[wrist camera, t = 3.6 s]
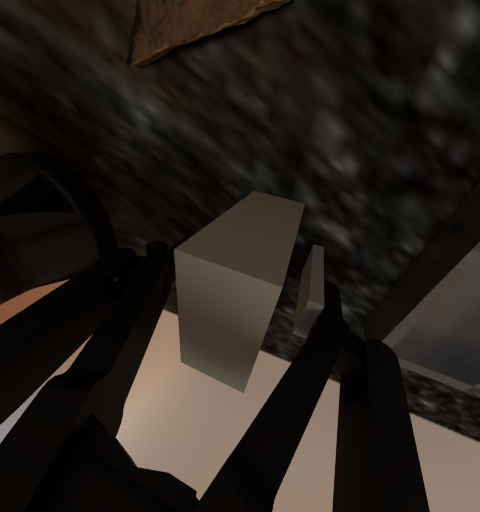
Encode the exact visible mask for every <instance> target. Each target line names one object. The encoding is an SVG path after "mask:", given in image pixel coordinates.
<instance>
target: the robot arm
mask: <svg viewBox="0 0 480 512" xmlns="http://www.w3.org/2000/svg"><path fill="white" fill-rule="evenodd" d="M189 238H190V237H187V238H183V239H182V240H180V241H179V242H178V243H176V244H175V245H173V246H172V247H170V248H169V249H168V244H167V243H165V242H162V241H153V242H149V243H147V244H146V245H145V247H146V253H147V257H142V256H136V253H135V251H134V250H133V249H131V248H121V249H117V250H115V241H114V236H113V232H112V229H111V226H110V224H109V221H108V219H107V217H106V215H105V213H104V211H103V209H102V207H101V206H100V204H99V202H98V201H97V199H96V198H95V196H94V195H93V194H92V192H91V191H90V190H89V188H88V187H87V186H86V185H85V184H84V182H83V181H82V180H81V179H80V178H79V177H78V176H77V175H76V174H75V173H74V172H73V171H72V170H70V169H69V168H68V167H67V166H65V165H64V164H63V163H61V162H60V161H58V160H57V159H55V158H53V157H51V156H49V155H47V154H44V153H40V152H25V153H9V154H4V155H1V156H0V305H1V304H3V303H4V302H6V301H8V300H10V299H12V298H14V297H16V296H18V295H20V294H22V293H24V292H26V291H28V290H31V289H34V288H37V287H41V286H45V285H49V284H53V283H57V282H61V281H64V280H68V279H70V280H68V281H67V282H65V283H64V284H62V285H61V286H59V287H58V288H56V289H55V290H53V291H51V292H50V293H49V294H47V295H45V296H44V297H42V298H41V299H39V300H38V301H36V302H34V303H33V304H31V305H30V306H28V307H27V308H25V309H24V310H23V311H21V312H19V313H18V314H16V315H15V316H13V317H11V318H10V319H8V320H7V321H5V322H4V323H2V324H1V325H0V424H2V423H3V422H4V421H5V420H6V419H7V418H8V417H9V416H10V415H11V414H12V413H13V412H15V411H16V410H17V409H18V408H19V407H20V406H21V405H22V404H23V403H24V402H25V401H26V400H27V399H28V398H29V397H30V396H31V395H32V394H33V393H34V392H35V391H36V390H37V389H38V388H39V387H40V386H41V385H42V384H43V383H44V382H45V381H46V380H47V379H48V378H49V377H50V376H51V375H52V374H53V373H54V372H55V371H56V370H57V369H58V368H59V367H60V366H61V365H62V364H63V363H64V362H65V361H66V360H67V359H68V358H69V357H70V356H71V355H72V354H73V353H74V352H75V351H76V350H77V349H78V348H79V347H80V346H81V345H82V344H83V343H84V342H85V341H86V340H87V339H88V338H89V337H90V336H91V335H92V334H93V335H92V336H91V338H90V339H89V341H88V342H87V343H86V345H85V346H84V348H83V349H82V351H81V352H80V353H79V355H78V356H77V358H76V359H75V361H74V362H73V364H72V365H71V366H70V368H69V369H68V370H67V371H66V372H65V373H63V374H60V375H57V376H54V377H53V378H51V379H50V380H49V381H48V382H47V383H46V384H45V385H44V386H43V388H42V389H41V390H40V391H39V393H38V394H37V395H36V397H35V398H34V399H33V401H32V402H31V403H30V405H29V406H28V407H27V409H26V410H25V411H24V413H23V414H22V415H21V417H20V418H19V419H18V421H17V422H16V423H15V425H14V426H13V427H12V429H11V430H10V431H9V433H8V434H7V435H6V437H5V438H4V439H3V441H2V442H1V444H0V512H272V510H273V504H274V500H275V497H276V494H277V492H278V489H279V487H280V485H281V483H282V480H283V478H284V476H285V474H286V472H287V469H288V467H289V465H290V463H291V460H292V458H293V456H294V454H295V451H296V449H297V447H298V445H299V443H300V440H301V438H302V436H303V434H304V431H305V429H306V427H307V425H308V422H309V420H310V418H311V416H312V413H313V411H314V409H315V407H316V404H317V402H318V400H319V398H320V396H321V393H322V391H323V389H324V387H325V385H326V382H327V380H328V378H329V376H330V373H331V371H332V369H333V368H334V369H336V370H337V371H338V372H340V373H341V379H340V396H339V412H338V429H337V445H336V461H335V462H336V463H335V478H334V494H333V511H332V512H430V511H429V506H428V501H427V496H426V491H425V486H424V481H423V477H422V472H421V467H420V462H419V457H418V452H417V447H416V443H415V438H414V433H413V428H412V423H411V418H410V413H409V408H408V404H407V399H406V394H405V389H404V384H403V379H402V374H401V370H400V365H399V360H398V358H397V355H396V354H395V352H394V351H393V350H392V349H391V348H390V347H389V346H388V345H387V344H385V343H383V342H382V341H379V340H376V339H369V340H368V341H367V342H366V341H364V340H362V339H361V338H359V337H358V336H356V335H355V334H353V333H352V332H351V331H350V330H349V326H348V324H347V323H346V321H345V320H344V319H343V317H342V308H341V302H340V301H341V300H340V291H339V289H338V287H337V286H336V284H334V283H331V282H327V281H324V247H322V246H318V245H315V244H313V247H312V249H311V252H310V254H309V256H308V259H307V261H306V263H305V266H304V268H303V271H302V276H301V283H300V289H299V296H298V302H297V309H296V315H295V322H294V328H293V334H296V335H298V336H301V337H303V338H306V337H307V336H308V334H309V338H308V339H307V341H306V342H305V344H304V345H303V347H302V348H301V350H300V351H299V353H298V354H297V356H296V357H295V359H294V360H293V362H292V363H291V365H290V366H289V368H288V369H287V371H286V372H285V374H284V375H283V377H282V378H281V380H280V381H279V383H278V384H277V386H276V388H275V389H274V390H273V392H272V394H271V395H270V397H269V398H268V400H267V401H266V403H265V404H264V406H263V407H262V409H261V410H260V412H259V413H258V415H257V416H256V418H255V419H254V421H253V422H252V424H251V425H250V427H249V428H248V430H247V431H246V433H245V434H244V436H243V437H242V439H241V440H240V442H239V443H238V445H237V446H236V448H235V449H234V451H233V452H232V453H231V454H230V456H229V458H228V459H227V460H226V462H225V463H224V465H223V466H222V468H221V469H220V471H219V472H218V474H217V475H216V477H215V478H214V480H213V481H212V483H211V484H210V486H209V487H208V489H207V490H206V492H205V493H204V495H203V496H202V498H201V499H200V501H199V500H198V499H197V497H196V493H197V491H196V490H194V489H192V488H191V487H189V486H188V485H186V484H185V483H183V482H182V481H180V480H179V479H177V478H175V477H174V476H173V475H171V474H170V473H167V472H161V471H155V470H149V469H144V468H138V467H137V466H136V465H135V463H134V462H133V460H132V458H131V457H130V456H129V455H128V453H127V452H126V451H125V449H124V448H123V447H122V445H121V444H120V443H119V441H118V440H117V439H116V435H117V433H118V430H119V427H120V424H121V421H122V417H123V408H124V404H125V401H126V399H127V396H128V394H129V391H130V389H131V386H132V384H133V381H134V379H135V376H136V374H137V372H138V369H139V367H140V364H141V362H142V359H143V357H144V354H145V352H146V350H147V347H148V345H149V342H150V340H151V337H152V335H153V332H154V329H155V328H156V325H157V323H158V320H159V317H160V315H161V313H162V310H163V308H164V305H165V303H166V301H167V298H168V296H169V293H170V291H171V284H172V283H173V282H174V281H175V284H176V269H175V253H174V249H175V248H177V247H178V246H179V245H181V244H182V243H184V242H185V241H186V240H188V239H189ZM116 277H117V281H116V282H113V279H115V278H116ZM176 287H177V286H176Z"/></svg>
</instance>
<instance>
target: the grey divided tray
mask: <svg viewBox="0 0 480 512" xmlns="http://www.w3.org/2000/svg"><path fill="white" fill-rule="evenodd" d="M363 328H364V333H365V338H366V342H367V341H368V340H369V339H376V340H379V341H382V342H383V343H385V344H387V345H388V346H389V347H390V348H391V349H392V350H393V351H394V352H395V354H396V355H397V358H398V360H399V365H400V366H401V367H403V368H406V369H408V370H411V371H413V372H416V373H419V374H421V375H424V376H426V377H429V378H431V379H434V380H436V381H439V382H442V383H444V384H447V385H449V386H452V387H454V388H457V389H460V390H462V391H465V392H467V393H470V394H472V395H475V396H477V397H480V181H479V182H478V183H477V185H476V186H475V187H474V188H473V190H472V191H471V192H470V193H469V194H468V196H467V197H466V198H465V199H464V201H463V202H462V203H461V204H460V206H459V207H458V208H457V209H456V210H455V212H454V213H453V214H452V215H451V217H450V218H449V219H448V220H447V221H446V223H445V224H444V225H443V226H442V228H441V229H440V230H439V231H438V233H437V234H436V235H435V236H434V237H433V239H432V240H431V241H430V242H429V244H428V245H427V246H426V247H425V249H424V250H423V251H422V252H421V253H420V255H419V256H418V257H417V258H416V260H415V261H414V262H413V263H412V265H411V266H410V267H409V268H408V269H407V271H406V272H405V273H404V274H403V276H402V277H401V278H400V279H399V280H398V282H397V283H396V284H395V285H394V287H393V288H392V289H391V290H390V292H389V293H388V294H387V295H386V296H385V298H384V299H383V300H382V301H381V303H380V304H379V305H378V306H377V308H376V309H375V310H374V311H373V312H372V314H371V315H370V316H369V317H368V319H367V320H366V321H365V322H364V324H363Z"/></svg>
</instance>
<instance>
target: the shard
mask: <svg viewBox="0 0 480 512" xmlns="http://www.w3.org/2000/svg"><path fill="white" fill-rule="evenodd" d="M290 1H291V0H136V2H135V16H134V23H133V29H132V33H131V40H130V43H129V49H128V57H127V61H126V64H127V66H130V65H141V66H146V65H147V64H148V63H150V62H153V61H154V60H157V59H159V58H160V57H162V56H164V55H165V54H166V53H167V52H169V51H170V50H172V49H174V48H175V47H176V46H178V45H181V44H189V43H192V42H193V41H196V40H198V39H199V38H201V37H203V36H207V35H210V34H214V33H216V32H218V31H221V30H222V29H224V28H226V27H231V26H234V25H240V24H244V23H246V22H247V21H249V20H251V19H253V18H255V17H257V16H258V15H259V14H260V13H261V12H265V11H270V10H273V9H277V8H279V7H280V6H281V5H283V4H284V3H288V2H290Z"/></svg>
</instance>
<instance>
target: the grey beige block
mask: <svg viewBox="0 0 480 512" xmlns="http://www.w3.org/2000/svg"><path fill="white" fill-rule="evenodd" d="M304 206H305V203H301V202H297V201H293V200H288V199H284V198H280V197H276V196H272V195H268V194H264V193H260V192H256V191H253V192H252V193H251V194H249V195H248V196H247V197H245V198H244V199H242V200H241V201H240V202H238V203H237V204H236V205H234V206H233V207H231V208H230V209H229V210H227V211H226V212H225V213H223V214H222V215H221V216H219V217H218V218H216V219H215V220H214V221H212V222H211V223H210V224H208V225H207V226H205V227H204V228H203V229H201V230H200V231H199V232H197V233H196V234H195V235H193V236H192V237H190V238H189V239H188V240H186V241H185V242H184V243H182V244H181V245H179V246H178V247H177V248H175V249H174V253H175V269H176V286H177V303H178V318H179V319H178V320H179V336H180V352H181V362H182V363H184V364H186V365H188V366H190V367H192V368H194V369H196V370H198V371H200V372H202V373H205V374H206V375H208V376H210V377H213V378H215V379H216V380H218V381H221V382H223V383H224V384H227V385H229V386H230V387H233V388H235V389H237V390H239V391H241V392H243V393H244V390H245V388H246V385H247V382H248V379H249V377H250V374H251V371H252V369H253V366H254V363H255V361H256V358H257V355H258V352H259V350H260V347H261V344H262V341H263V339H264V336H265V333H266V331H267V328H268V325H269V322H270V320H271V317H272V314H273V312H274V309H275V306H276V303H277V301H278V298H279V295H280V293H281V290H282V287H283V283H284V280H285V276H286V272H287V269H288V265H289V261H290V258H291V254H292V250H293V247H294V243H295V239H296V236H297V232H298V228H299V225H300V221H301V217H302V214H303V210H304Z"/></svg>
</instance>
